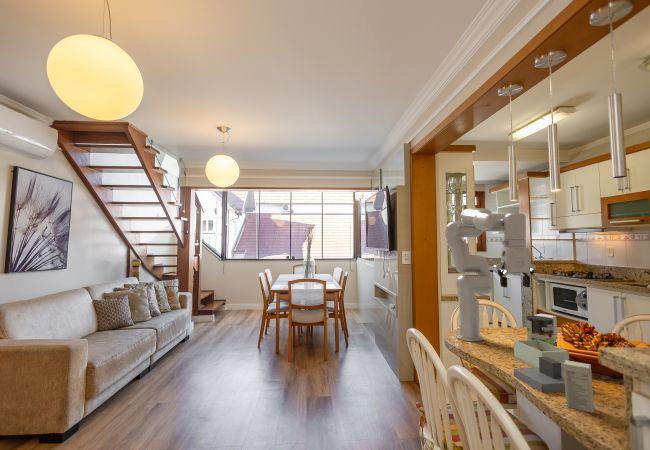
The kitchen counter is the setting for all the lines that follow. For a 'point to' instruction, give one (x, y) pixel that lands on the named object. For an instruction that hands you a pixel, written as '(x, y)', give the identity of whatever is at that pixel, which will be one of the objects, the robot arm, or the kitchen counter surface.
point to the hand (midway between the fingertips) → (515, 286)
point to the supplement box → (553, 324)
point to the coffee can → (540, 329)
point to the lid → (543, 376)
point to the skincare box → (578, 386)
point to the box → (538, 352)
